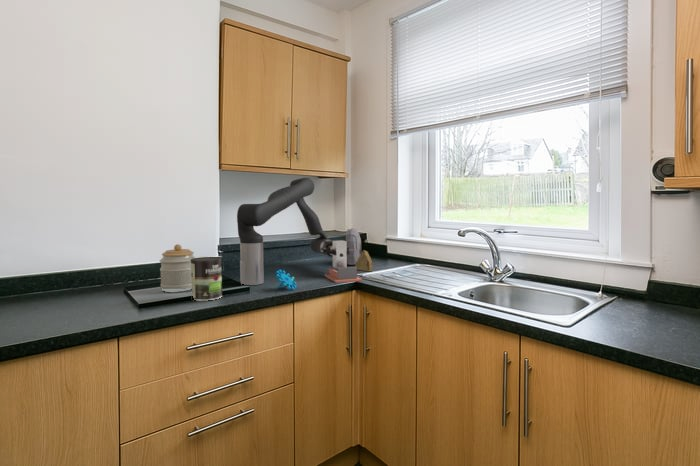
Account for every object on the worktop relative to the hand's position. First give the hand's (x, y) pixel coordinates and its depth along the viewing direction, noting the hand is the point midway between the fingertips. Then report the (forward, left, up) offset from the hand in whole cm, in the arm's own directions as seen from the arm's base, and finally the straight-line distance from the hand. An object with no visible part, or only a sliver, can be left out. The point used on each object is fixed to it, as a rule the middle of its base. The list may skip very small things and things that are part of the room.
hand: (341, 252), depth 171 cm
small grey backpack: (+19, +32, -12) cm, 39 cm away
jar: (-67, +1, -12) cm, 68 cm away
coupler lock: (0, +3, -7) cm, 7 cm away
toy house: (+17, +14, -12) cm, 25 cm away
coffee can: (-57, -17, -12) cm, 61 cm away
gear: (-28, -13, -12) cm, 33 cm away
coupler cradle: (0, -2, -11) cm, 11 cm away
